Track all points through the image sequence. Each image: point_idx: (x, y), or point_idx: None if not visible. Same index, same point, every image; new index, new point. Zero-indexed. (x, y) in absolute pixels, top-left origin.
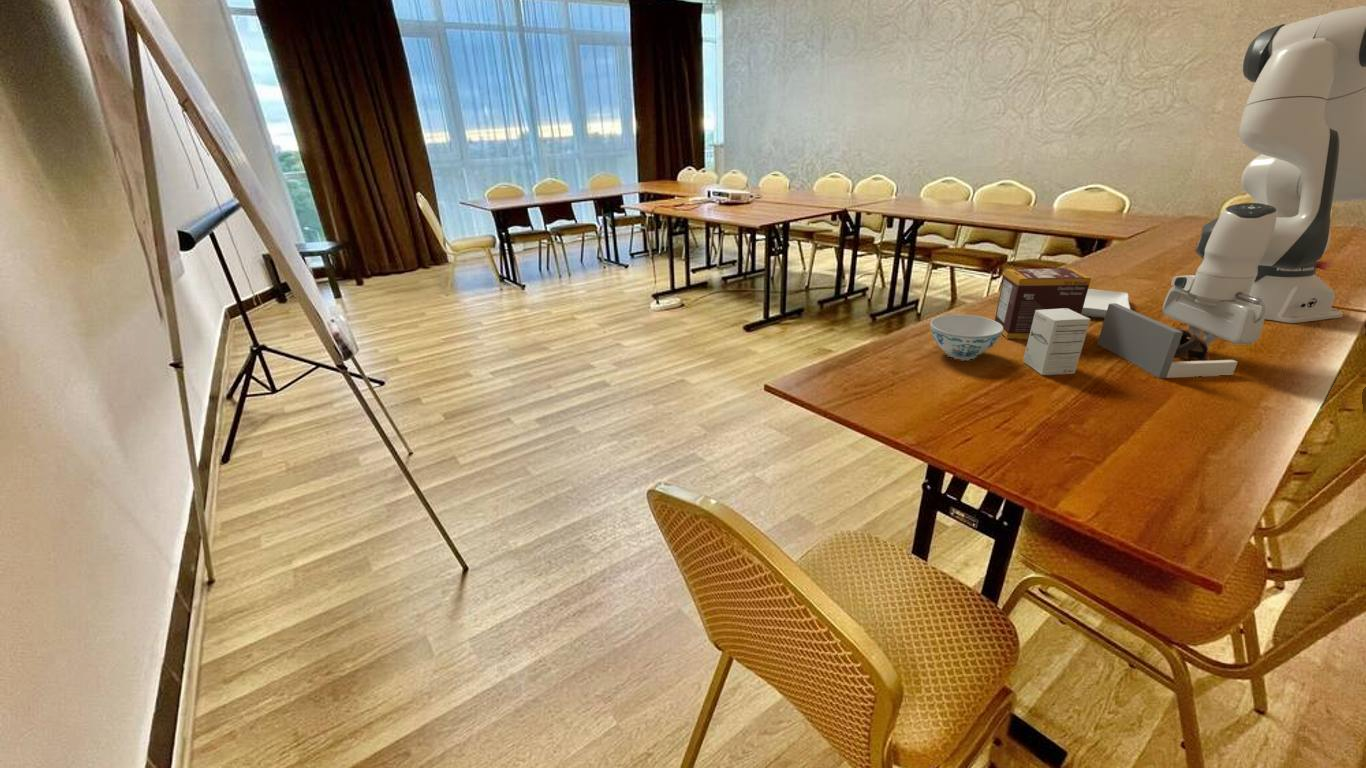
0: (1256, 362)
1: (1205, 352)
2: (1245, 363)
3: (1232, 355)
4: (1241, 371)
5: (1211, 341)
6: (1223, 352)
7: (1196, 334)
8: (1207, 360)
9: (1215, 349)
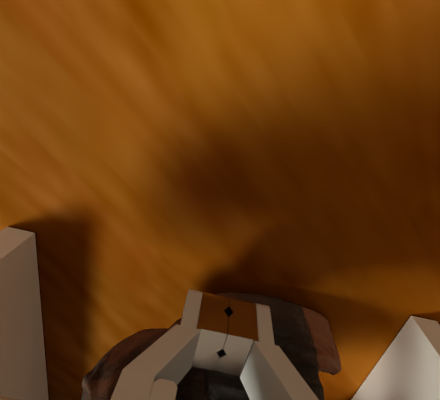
0: (421, 54)
1: (315, 374)
2: (392, 135)
3: (277, 73)
4: (436, 253)
5: (288, 369)
6: (219, 73)
7: (170, 374)
8: (339, 359)
9: (163, 67)
